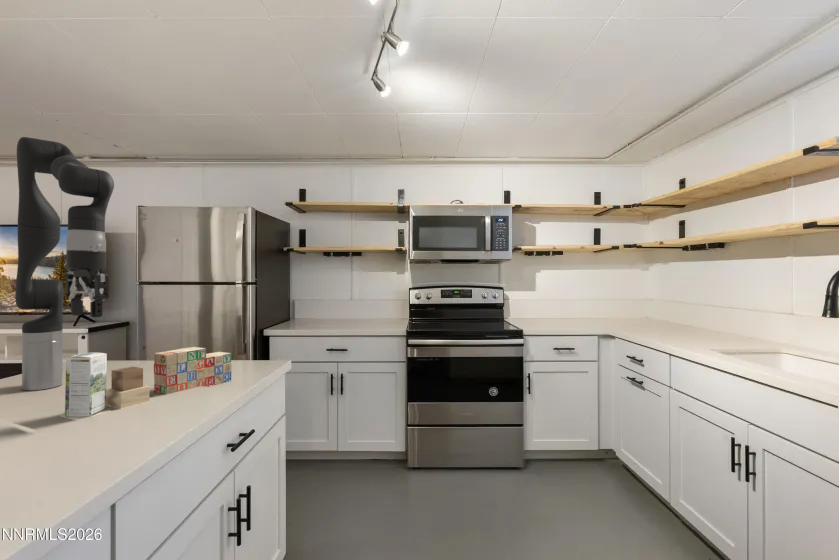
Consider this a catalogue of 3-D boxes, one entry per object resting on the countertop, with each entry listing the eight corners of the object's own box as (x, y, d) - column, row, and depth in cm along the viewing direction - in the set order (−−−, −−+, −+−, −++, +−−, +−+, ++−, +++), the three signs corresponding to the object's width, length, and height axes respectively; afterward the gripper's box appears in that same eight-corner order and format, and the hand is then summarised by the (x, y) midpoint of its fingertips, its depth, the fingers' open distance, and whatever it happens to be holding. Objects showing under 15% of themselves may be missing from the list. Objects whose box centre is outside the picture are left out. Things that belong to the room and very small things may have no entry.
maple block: (105, 404, 107) (105, 389, 107) (133, 397, 113) (133, 383, 113) (121, 408, 104) (121, 392, 104) (149, 401, 110) (149, 386, 110)
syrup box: (82, 409, 103) (82, 352, 103) (107, 409, 103) (107, 352, 103) (64, 417, 97) (64, 356, 97) (90, 417, 98) (90, 356, 98)
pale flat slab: (44, 414, 101) (44, 411, 101) (120, 396, 117) (120, 394, 117) (78, 424, 95) (78, 421, 95) (153, 403, 110) (153, 401, 110)
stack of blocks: (219, 378, 139) (219, 342, 139) (231, 381, 136) (231, 343, 136) (153, 394, 120) (153, 352, 120) (166, 397, 117) (166, 354, 117)
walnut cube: (111, 389, 108) (111, 370, 108) (131, 384, 112) (131, 366, 112) (122, 391, 105) (123, 372, 105) (143, 386, 110) (143, 368, 110)
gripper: (52, 249, 100) (52, 316, 100) (85, 248, 94) (84, 319, 94) (88, 251, 106) (88, 313, 107) (120, 250, 100) (120, 316, 100)
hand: (86, 316), depth 100 cm, fingers open, 8 cm apart
